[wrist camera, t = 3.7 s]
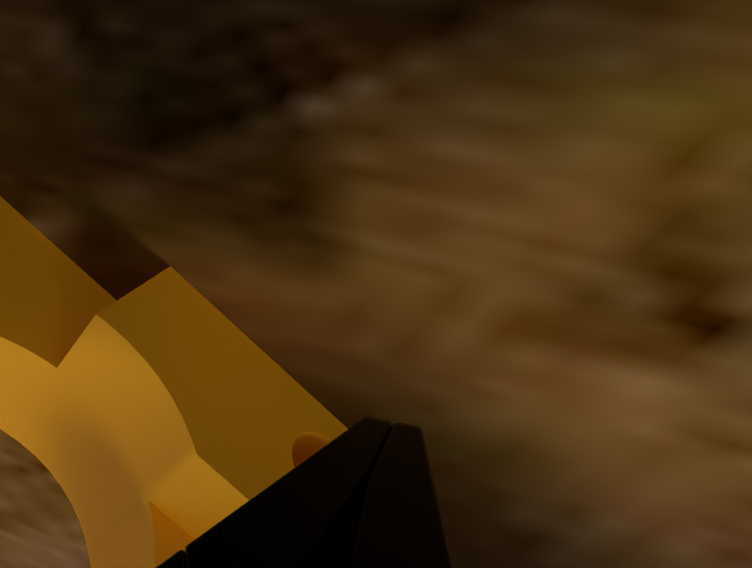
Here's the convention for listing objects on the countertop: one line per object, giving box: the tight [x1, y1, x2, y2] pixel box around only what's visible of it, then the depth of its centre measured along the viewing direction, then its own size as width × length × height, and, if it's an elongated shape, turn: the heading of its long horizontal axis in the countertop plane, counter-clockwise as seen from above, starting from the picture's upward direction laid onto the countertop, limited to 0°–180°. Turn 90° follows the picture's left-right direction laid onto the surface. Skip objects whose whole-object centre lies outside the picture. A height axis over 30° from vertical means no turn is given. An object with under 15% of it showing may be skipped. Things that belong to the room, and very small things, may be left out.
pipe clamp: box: [0, 196, 348, 568], centre depth 10 cm, size 12×4×6 cm, turn 48°
